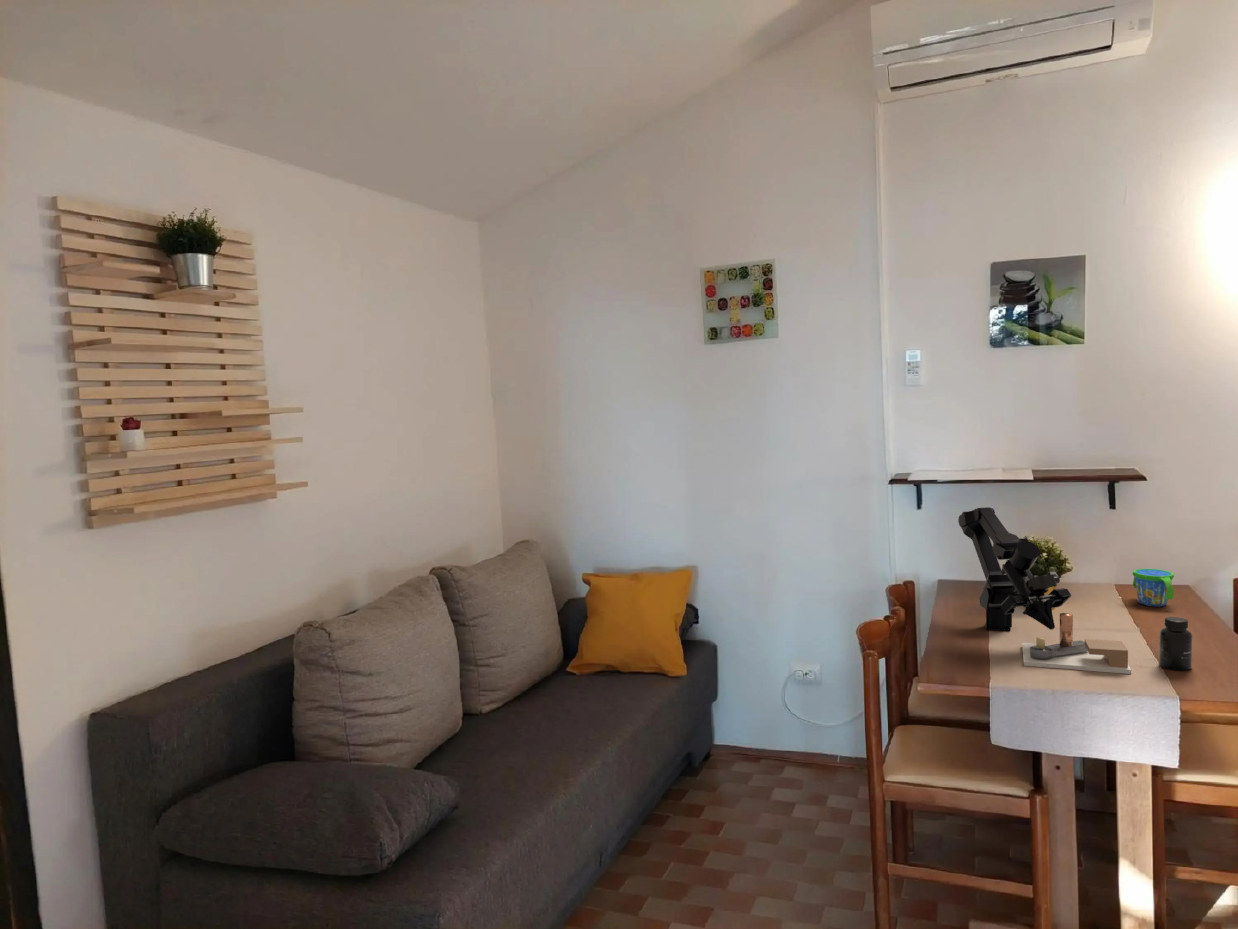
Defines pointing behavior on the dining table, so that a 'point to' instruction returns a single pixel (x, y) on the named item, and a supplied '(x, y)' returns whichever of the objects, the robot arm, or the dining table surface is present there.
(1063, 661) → the base
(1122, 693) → the dining table surface
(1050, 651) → the link
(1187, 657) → the supplement bottle
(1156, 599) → the snack cup
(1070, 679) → the dining table surface
